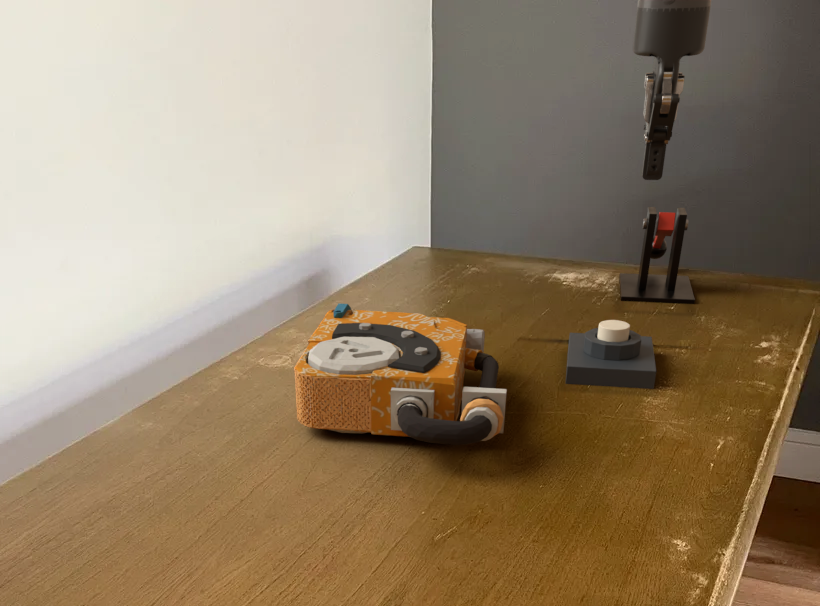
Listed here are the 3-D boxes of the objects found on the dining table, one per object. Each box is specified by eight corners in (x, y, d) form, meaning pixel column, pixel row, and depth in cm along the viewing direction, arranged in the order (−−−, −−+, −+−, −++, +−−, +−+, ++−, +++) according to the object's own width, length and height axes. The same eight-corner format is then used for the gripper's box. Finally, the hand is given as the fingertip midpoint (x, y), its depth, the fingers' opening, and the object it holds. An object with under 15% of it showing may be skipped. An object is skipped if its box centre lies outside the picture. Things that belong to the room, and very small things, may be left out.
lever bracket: (618, 283, 145) (629, 200, 138) (686, 285, 143) (700, 202, 137) (619, 307, 135) (631, 219, 129) (693, 310, 134) (708, 221, 127)
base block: (567, 349, 121) (571, 318, 119) (649, 353, 120) (654, 322, 117) (565, 384, 112) (568, 351, 109) (653, 389, 110) (659, 355, 108)
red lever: (642, 261, 146) (644, 239, 146) (664, 262, 146) (666, 240, 146) (653, 232, 133) (656, 208, 132) (677, 233, 132) (679, 209, 132)
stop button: (597, 333, 115) (598, 318, 114) (627, 334, 115) (629, 320, 114) (597, 343, 112) (598, 328, 111) (628, 345, 112) (630, 330, 111)
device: (517, 300, 111) (504, 398, 87) (511, 368, 116) (498, 480, 92) (326, 293, 115) (263, 385, 90) (329, 359, 119) (269, 465, 95)
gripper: (718, 5, 95) (690, 191, 105) (704, -1, 106) (679, 168, 116) (641, 7, 96) (620, 190, 106) (634, 0, 107) (616, 167, 117)
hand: (651, 178), depth 111 cm, fingers closed
